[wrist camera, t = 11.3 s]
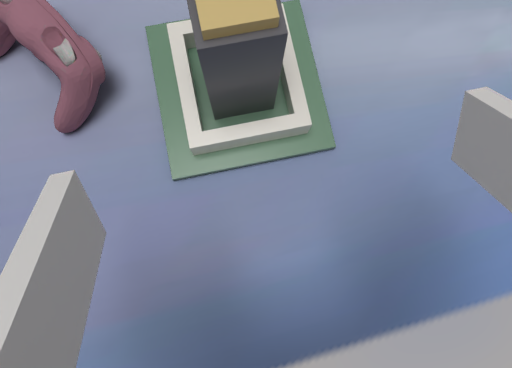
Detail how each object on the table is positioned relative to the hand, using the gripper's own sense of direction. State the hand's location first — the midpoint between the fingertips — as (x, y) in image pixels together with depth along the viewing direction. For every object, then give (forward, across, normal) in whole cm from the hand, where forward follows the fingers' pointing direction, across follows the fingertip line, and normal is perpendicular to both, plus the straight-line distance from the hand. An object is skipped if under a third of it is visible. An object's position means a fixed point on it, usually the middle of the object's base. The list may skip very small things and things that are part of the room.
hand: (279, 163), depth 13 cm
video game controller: (+20, -13, -1) cm, 24 cm away
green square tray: (+17, 0, -4) cm, 17 cm away
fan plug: (+16, 0, -3) cm, 17 cm away
